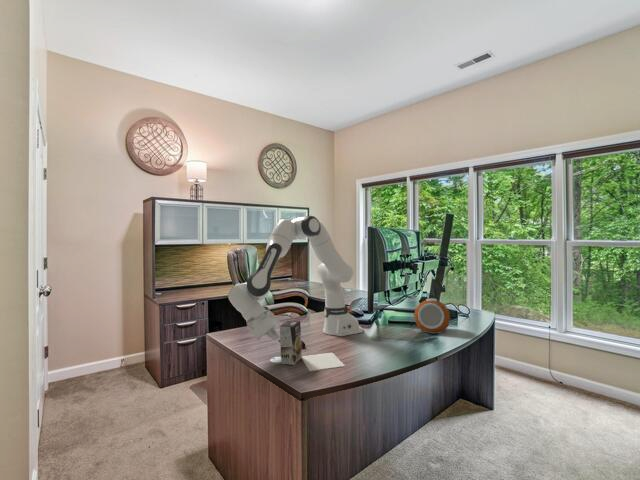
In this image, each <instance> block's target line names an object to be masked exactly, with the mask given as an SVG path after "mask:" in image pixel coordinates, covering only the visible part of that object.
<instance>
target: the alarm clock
mask: <svg viewBox="0 0 640 480" xmlns="http://www.w3.org/2000/svg"><path fill="white" fill-rule="evenodd" d="M414 310H415V311H414V315H413V318H414V323H415V324H416V325H417V327H418V328H419V329H420V331H422V332H424V333H427V334H428V333H429V334H440V333H443V332H444V331H445V330H447V328H448V327H449V325H450V321H451V316H450V311H449V309H447V306H446V305H445V304H443V303H442V302H441V301H439V300H438V299H436V298H433V297H432V298H431V297H430V298H429V297H428V298H426V299H425V300H423V301H421V302H420V303H419V304H418V305H417V306H416V308H415V309H414Z"/></svg>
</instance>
